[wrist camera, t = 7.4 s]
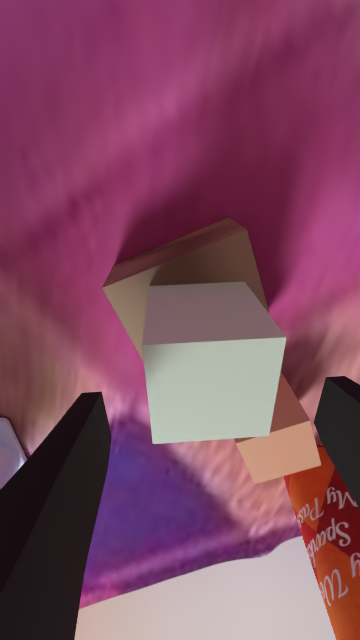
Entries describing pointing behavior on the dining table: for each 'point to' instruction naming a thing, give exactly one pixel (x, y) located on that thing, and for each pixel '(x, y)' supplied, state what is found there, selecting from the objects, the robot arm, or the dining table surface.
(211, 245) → the walnut base
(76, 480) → the robot arm
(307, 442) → the terracotta cube
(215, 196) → the dining table surface
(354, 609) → the paper cup
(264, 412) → the sage cube
